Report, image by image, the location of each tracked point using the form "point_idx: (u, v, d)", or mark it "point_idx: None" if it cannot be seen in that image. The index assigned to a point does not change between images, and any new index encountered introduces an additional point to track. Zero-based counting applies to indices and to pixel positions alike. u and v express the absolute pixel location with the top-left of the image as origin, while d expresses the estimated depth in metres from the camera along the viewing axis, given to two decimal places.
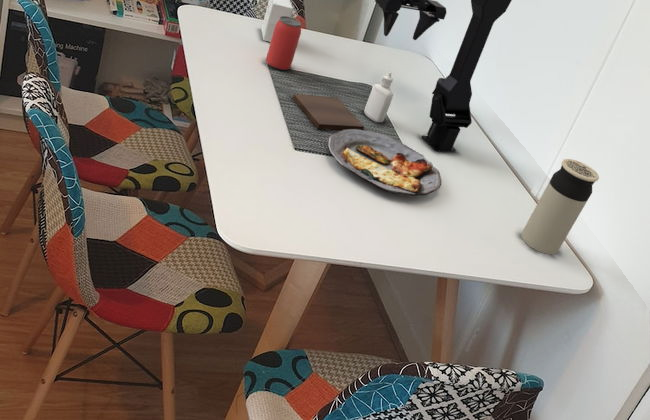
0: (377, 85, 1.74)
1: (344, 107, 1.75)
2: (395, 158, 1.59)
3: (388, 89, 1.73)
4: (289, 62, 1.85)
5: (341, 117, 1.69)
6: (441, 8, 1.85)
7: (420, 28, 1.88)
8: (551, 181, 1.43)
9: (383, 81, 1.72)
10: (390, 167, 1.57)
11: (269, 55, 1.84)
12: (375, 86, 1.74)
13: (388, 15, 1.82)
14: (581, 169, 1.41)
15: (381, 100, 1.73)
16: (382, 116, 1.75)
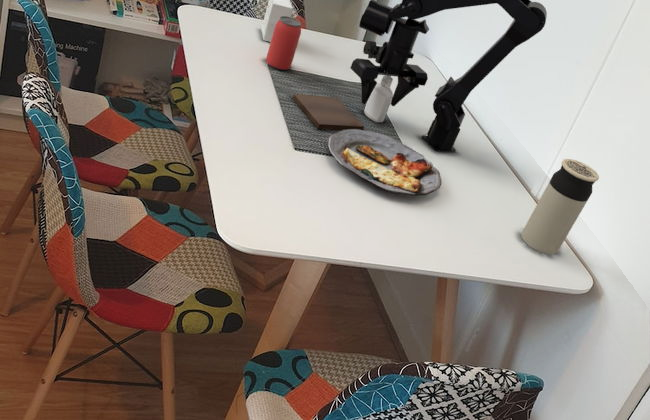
0: (377, 85, 1.74)
1: (344, 107, 1.75)
2: (395, 158, 1.59)
3: (388, 89, 1.73)
4: (289, 62, 1.85)
5: (341, 117, 1.69)
6: (422, 74, 1.73)
7: (398, 94, 1.76)
8: (551, 181, 1.43)
9: (383, 81, 1.72)
10: (390, 167, 1.57)
11: (269, 55, 1.84)
12: (375, 86, 1.74)
13: (366, 83, 1.71)
14: (581, 169, 1.41)
15: (381, 100, 1.73)
16: (382, 116, 1.75)
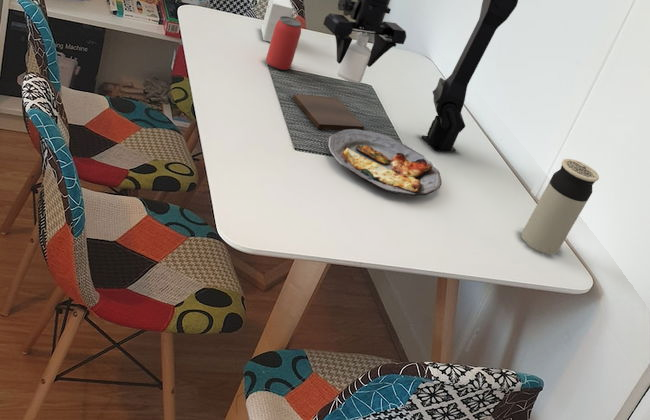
0: (354, 45, 1.63)
1: (344, 107, 1.75)
2: (395, 158, 1.59)
3: (366, 47, 1.63)
4: (289, 62, 1.85)
5: (341, 117, 1.69)
6: (400, 31, 1.63)
7: (375, 53, 1.66)
8: (551, 181, 1.43)
9: (361, 40, 1.62)
10: (390, 167, 1.57)
11: (269, 55, 1.84)
12: (351, 47, 1.63)
13: (341, 40, 1.60)
14: (581, 169, 1.41)
15: (363, 60, 1.63)
16: (362, 76, 1.66)
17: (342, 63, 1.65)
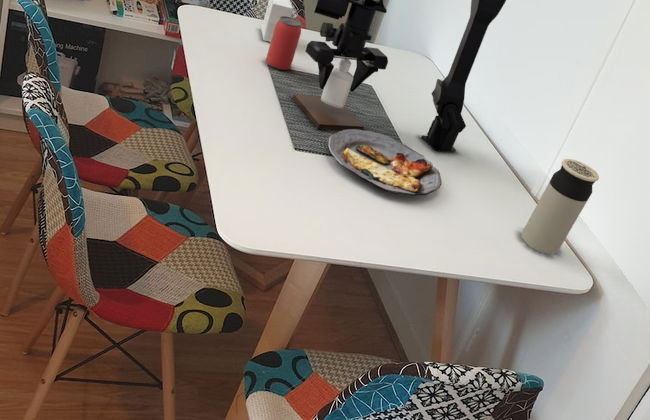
0: (336, 71, 1.65)
1: (344, 107, 1.75)
2: (395, 158, 1.59)
3: (348, 73, 1.65)
4: (289, 62, 1.85)
5: (341, 117, 1.69)
6: (381, 57, 1.65)
7: (357, 79, 1.68)
8: (551, 181, 1.43)
9: (343, 66, 1.64)
10: (390, 167, 1.57)
11: (269, 55, 1.84)
12: (334, 73, 1.65)
13: (323, 66, 1.62)
14: (581, 169, 1.41)
15: (345, 86, 1.65)
16: (345, 101, 1.68)
17: (325, 88, 1.67)
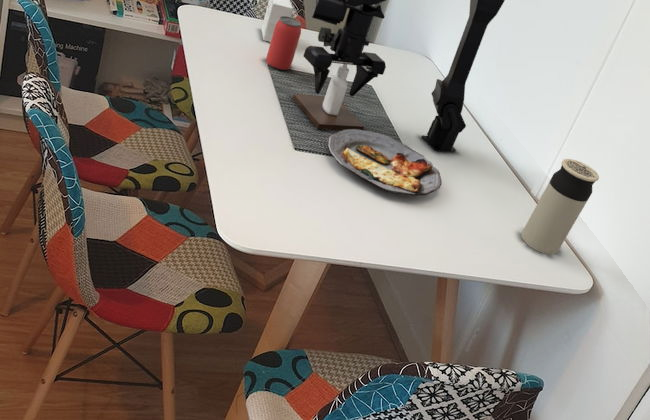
0: (334, 76, 1.67)
1: (344, 107, 1.75)
2: (395, 158, 1.59)
3: (342, 80, 1.65)
4: (289, 62, 1.85)
5: (341, 117, 1.69)
6: (379, 62, 1.66)
7: (357, 84, 1.69)
8: (551, 181, 1.43)
9: (338, 71, 1.65)
10: (390, 167, 1.57)
11: (269, 55, 1.84)
12: (332, 76, 1.67)
13: (319, 71, 1.63)
14: (581, 169, 1.41)
15: (334, 91, 1.66)
16: (334, 109, 1.67)
17: (326, 92, 1.70)
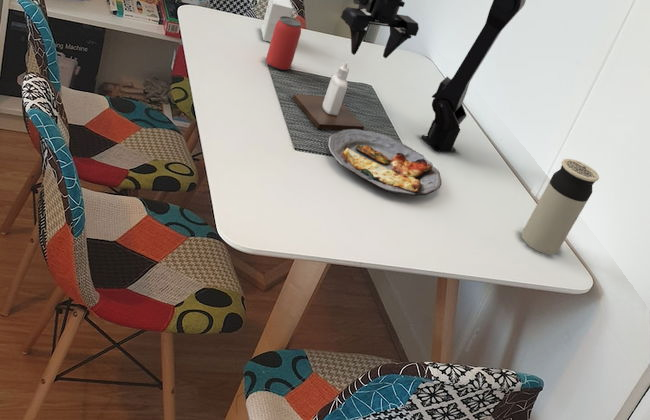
0: (334, 76, 1.67)
1: (344, 107, 1.75)
2: (395, 158, 1.59)
3: (342, 80, 1.65)
4: (289, 62, 1.85)
5: (341, 117, 1.69)
6: (413, 24, 1.72)
7: (391, 45, 1.75)
8: (551, 181, 1.43)
9: (338, 71, 1.65)
10: (390, 167, 1.57)
11: (269, 55, 1.84)
12: (332, 76, 1.67)
13: (355, 32, 1.69)
14: (581, 169, 1.41)
15: (334, 91, 1.66)
16: (334, 109, 1.67)
17: (326, 92, 1.70)
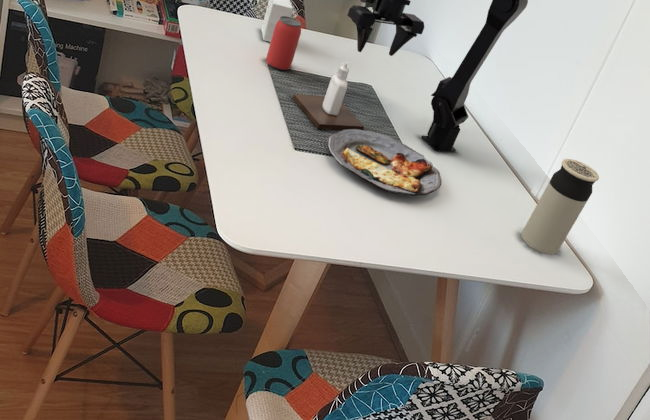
0: (334, 76, 1.67)
1: (344, 107, 1.75)
2: (395, 158, 1.59)
3: (342, 80, 1.65)
4: (289, 62, 1.85)
5: (341, 117, 1.69)
6: (418, 22, 1.74)
7: (396, 43, 1.77)
8: (551, 181, 1.43)
9: (338, 71, 1.65)
10: (390, 167, 1.57)
11: (269, 55, 1.84)
12: (332, 76, 1.67)
13: (362, 30, 1.71)
14: (581, 169, 1.41)
15: (334, 91, 1.66)
16: (334, 109, 1.67)
17: (326, 92, 1.70)
